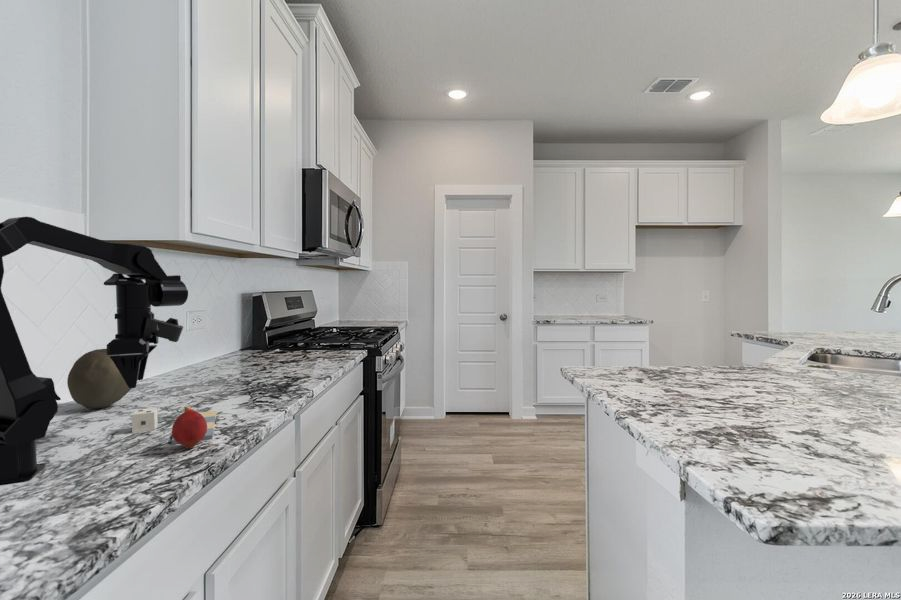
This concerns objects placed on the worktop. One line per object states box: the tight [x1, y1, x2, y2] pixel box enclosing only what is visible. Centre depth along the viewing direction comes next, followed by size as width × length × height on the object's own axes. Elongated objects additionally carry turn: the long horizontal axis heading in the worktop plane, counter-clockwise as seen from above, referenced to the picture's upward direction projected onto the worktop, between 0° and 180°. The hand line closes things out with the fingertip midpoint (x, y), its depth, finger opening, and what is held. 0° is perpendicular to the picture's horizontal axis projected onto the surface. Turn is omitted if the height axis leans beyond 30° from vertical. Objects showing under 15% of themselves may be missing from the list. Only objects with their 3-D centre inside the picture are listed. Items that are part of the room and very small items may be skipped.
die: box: [131, 407, 159, 434], centre depth 98 cm, size 4×4×4 cm
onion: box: [171, 406, 207, 450], centre depth 86 cm, size 6×6×8 cm
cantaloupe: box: [66, 348, 133, 410], centre depth 117 cm, size 14×14×15 cm
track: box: [171, 410, 217, 445], centre depth 99 cm, size 20×7×1 cm, turn 25°
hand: (136, 383), depth 93 cm, fingers open, 8 cm apart
